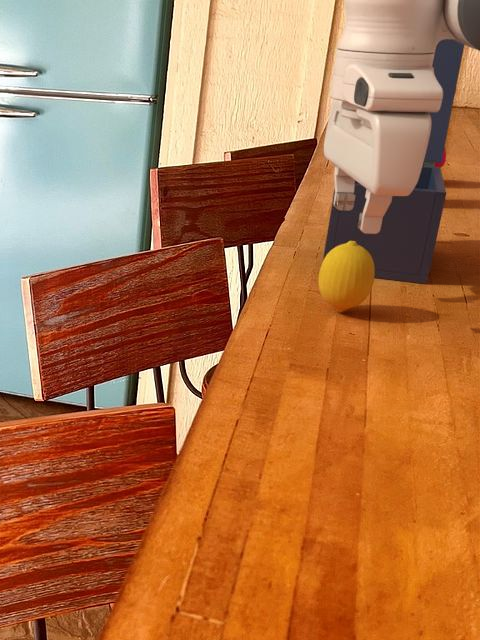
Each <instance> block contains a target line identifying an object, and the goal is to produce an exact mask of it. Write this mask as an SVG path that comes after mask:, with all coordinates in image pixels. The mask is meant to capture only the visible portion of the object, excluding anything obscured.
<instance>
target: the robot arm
mask: <svg viewBox="0 0 480 640" xmlns="http://www.w3.org/2000/svg"><path fill="white" fill-rule="evenodd" d="M344 8H345V24H344V27H343V31H342V33H341V36H340V38H339V40H338V42H337V47H336V53H335V59H334V65H333V73H332V79H331V85H330V92H329V97H330V98H331V99H333V100H332V104H331V107H330V110H329V111H330V112H329V117H328V122H327V126H326V131H325V136H324V142H323V157H324V158H325V160H327V161H329V162H330V163H331V164H333V165H334V172H333V178H334V181H333V182H334V189H335V197H334V203H333V204H334V206H335V207H336V208H337V209H338V210H342V211H343V210H346V211H350V210H352V209H353V207H354V201H355V196H356V195H355V194H354V187H355V180H356V181H357V182H358V183H360V184H361V185H362V186H364V187H365V188H366V195H365V198H366V199H367V200H366V203H365V207H364V210H363V212H360V216H359V223H358V228H359V229H360V230H361V231H362V232H363V233H365V234H377V233H378V232H379V231H380V229H381V224H382V219H383V216H384V214H385V213H386V211H387V209H388V207H389V205H390V203H391V201H392V196H408V195H410V194H411V192H412V191H413V189H414V188H415V186H416V184H417V182H418V179H419V176H420V173H421V169H422V165H423V162H424V158H425V154H426V150H427V146H428V141H429V137H430V132H431V116H430V114H429V113H428V112H438V111H439V110H440V107H441V103H442V98H443V89H442V87H441V86H440V84H439V82H438V81H437V79H436V77H435V75H434V68H433V67H432V64H433V59H434V54H435V53H434V52H435V49H436V45H437V44H438V43H439V42H440V41H441V40H444V39H453V40H455V41H457V42H459V43H461V44H464V46H466V47H468V48H471V49H474V50H476V51H478V52H480V0H344Z"/></svg>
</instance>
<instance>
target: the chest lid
mask: <svg viewBox="0 0 480 640" xmlns="http://www.w3.org/2000/svg"><path fill="white" fill-rule="evenodd" d="M464 49H465V45H464V44H461V43H459V42H457V41H455V40H453V39H444V40H441V41H440V42H439V43H438V44H437V45H436V49H435V52H434V53H435V54H434V59H433V64H432V67H433V68H434V75H435V77H436V79H437V81H438V82H439V84H440V86H441V87H442V89H443V98H442V103H441V107H440V110H439V111H438V112H428V113H429V114H430V116H431V132H430V137H429V141H428V146H427V150H426V154H425V158H424V162H433V163H441V162H442V157H443V152H444V147H445V148H446V141H447V136H448V132H449V126H450V122H451V115H452V111H453V106H454V101H455V96H456V93H455V91H456V92H457V84H458V79H459V74H460V70H461V64H462V59H463V55H464Z"/></svg>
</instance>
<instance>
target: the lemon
mask: <svg viewBox="0 0 480 640" xmlns="http://www.w3.org/2000/svg"><path fill="white" fill-rule="evenodd" d="M374 275H375V270H374V262H373V259H372V257H371V255H370V254H369V252H368V251H367V250H366V249H364V248H363V247H362V246H360V245H358V244H357V243H356V242H355V241H349V242H347V243H346V244H342V245H339V246H337V247H335V248H333V249H332V250H331V251H330V252H329V253H328V254H327V255H326V257H325V259H324V260H323V259H322V263H321V265H320V268H319V272H318V281H317V282H318V290H319V293H320V295H321V297H322V299H323V300H324V301H325V302H326V303H327V304H328V305H330V306H332V307H333V308H334V310H335V311H336V312H337V311H340V312H339V313H344V312H346V311H347V310H348V309H352V308H355V307H357V306H359V305H360V304H362V303H363V302H365V300H366V299H367V298H368V296H369V295H370V293H371V291H372V288H373V286H374V281H375V278H374ZM343 311H344V312H343Z"/></svg>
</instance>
